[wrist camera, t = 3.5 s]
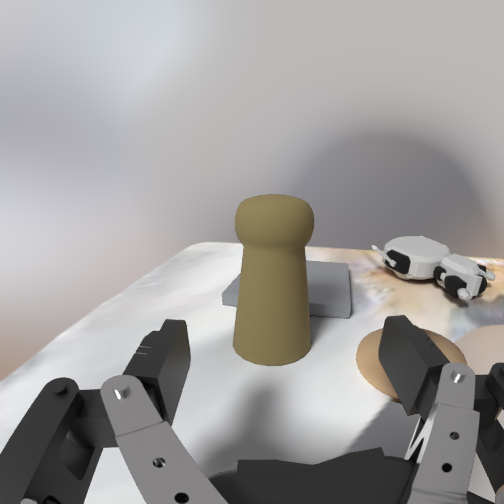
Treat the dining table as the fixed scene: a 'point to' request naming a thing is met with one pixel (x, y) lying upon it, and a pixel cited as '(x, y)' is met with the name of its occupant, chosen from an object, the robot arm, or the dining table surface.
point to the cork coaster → (374, 370)
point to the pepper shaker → (273, 280)
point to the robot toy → (435, 265)
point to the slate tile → (315, 289)
